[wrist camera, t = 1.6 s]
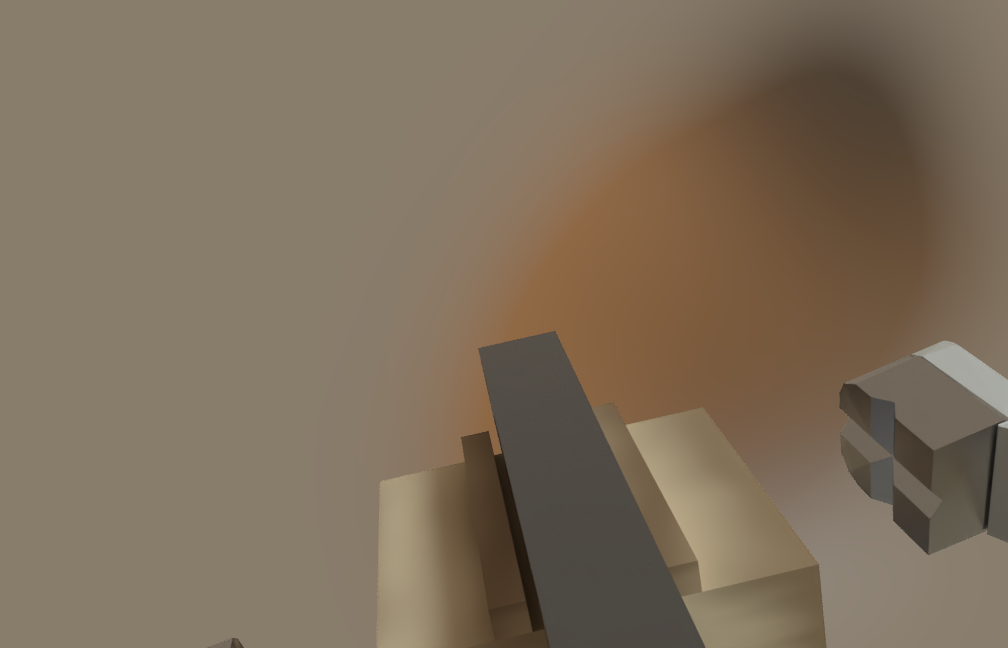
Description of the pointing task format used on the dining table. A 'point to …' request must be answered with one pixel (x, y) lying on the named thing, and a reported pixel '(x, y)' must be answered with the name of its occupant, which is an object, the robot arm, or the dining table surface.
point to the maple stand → (666, 509)
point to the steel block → (578, 509)
